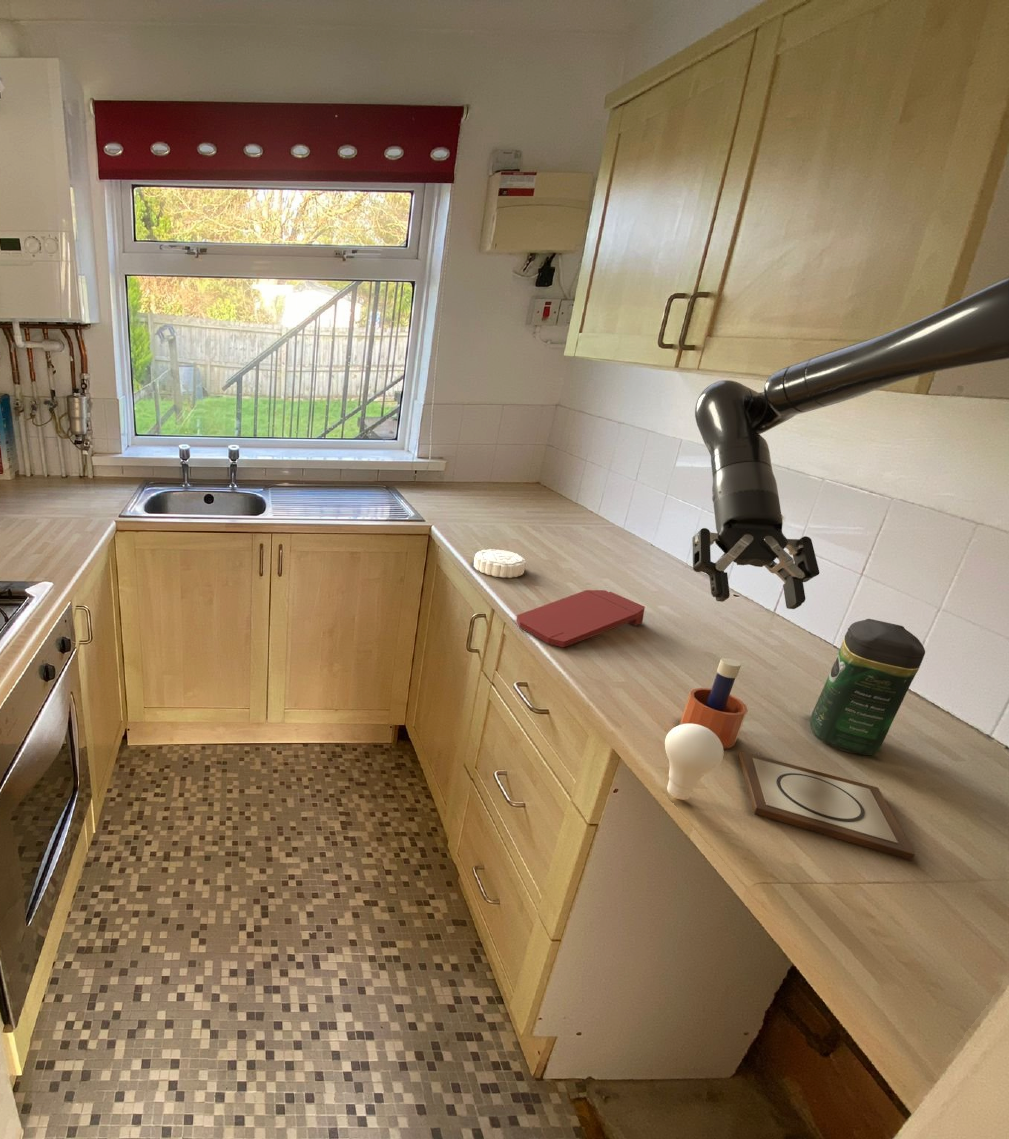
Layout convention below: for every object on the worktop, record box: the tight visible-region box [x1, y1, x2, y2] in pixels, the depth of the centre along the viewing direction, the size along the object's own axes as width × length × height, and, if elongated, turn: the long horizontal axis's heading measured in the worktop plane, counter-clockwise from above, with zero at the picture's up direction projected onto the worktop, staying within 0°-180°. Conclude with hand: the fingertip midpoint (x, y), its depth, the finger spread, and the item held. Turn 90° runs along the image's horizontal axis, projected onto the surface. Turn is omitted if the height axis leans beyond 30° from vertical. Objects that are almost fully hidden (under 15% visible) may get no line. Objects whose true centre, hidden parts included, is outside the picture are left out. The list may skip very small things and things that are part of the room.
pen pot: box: [679, 687, 749, 750], centre depth 94 cm, size 7×7×6 cm
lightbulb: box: [664, 724, 725, 801], centre depth 80 cm, size 6×6×11 cm
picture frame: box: [738, 751, 916, 861], centre depth 81 cm, size 15×13×1 cm
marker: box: [706, 657, 742, 712], centre depth 93 cm, size 2×2×12 cm
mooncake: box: [473, 548, 527, 579], centre depth 157 cm, size 12×12×4 cm
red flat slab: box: [516, 589, 646, 648], centre depth 128 cm, size 12×5×25 cm
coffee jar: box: [809, 618, 926, 756], centre depth 91 cm, size 10×8×19 cm
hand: (758, 603), depth 85 cm, fingers open, 8 cm apart
